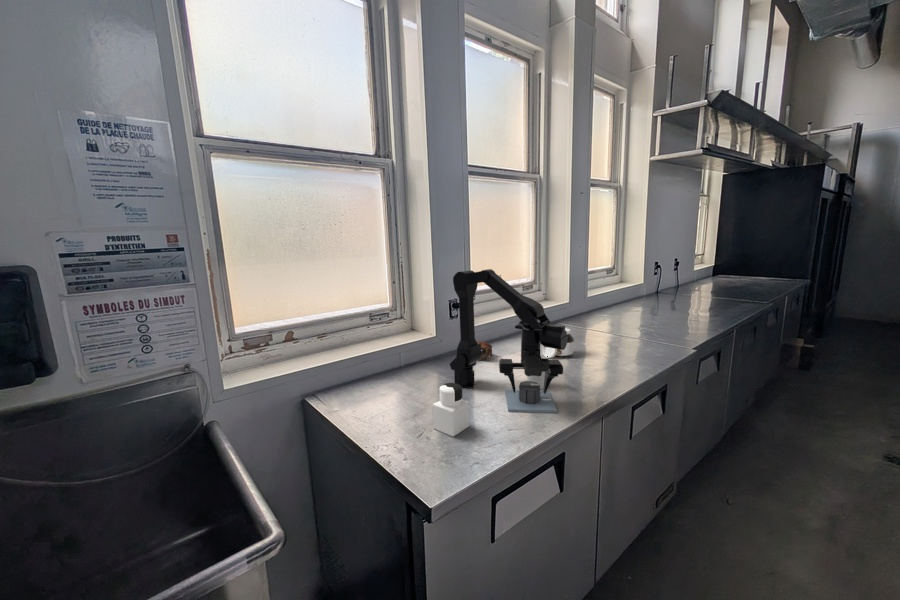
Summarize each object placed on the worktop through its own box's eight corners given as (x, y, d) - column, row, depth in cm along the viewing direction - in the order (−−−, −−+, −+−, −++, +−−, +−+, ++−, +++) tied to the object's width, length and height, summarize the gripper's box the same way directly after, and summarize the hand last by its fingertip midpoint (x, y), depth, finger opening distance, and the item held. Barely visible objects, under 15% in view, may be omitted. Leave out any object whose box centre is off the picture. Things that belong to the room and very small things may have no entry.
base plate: (508, 411, 108) (508, 399, 107) (505, 392, 121) (505, 380, 121) (557, 413, 106) (557, 400, 106) (548, 393, 120) (548, 381, 119)
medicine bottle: (449, 418, 104) (449, 378, 102) (469, 426, 99) (469, 384, 98) (432, 428, 99) (431, 386, 97) (453, 437, 94) (452, 393, 92)
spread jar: (575, 355, 159) (576, 328, 157) (568, 362, 150) (569, 334, 148) (547, 350, 165) (548, 325, 164) (539, 357, 156) (540, 331, 154)
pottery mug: (464, 358, 158) (470, 340, 160) (482, 365, 162) (487, 347, 164) (478, 359, 147) (484, 339, 150) (497, 366, 151) (502, 347, 153)
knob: (520, 403, 111) (520, 387, 110) (518, 395, 117) (518, 379, 116) (541, 404, 110) (541, 388, 110) (537, 395, 116) (538, 380, 116)
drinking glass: (546, 390, 122) (547, 361, 121) (526, 389, 124) (526, 360, 122) (545, 382, 129) (546, 355, 127) (526, 381, 130) (526, 354, 129)
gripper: (501, 351, 104) (500, 403, 106) (568, 352, 102) (566, 405, 105) (499, 340, 115) (498, 388, 117) (560, 341, 113) (558, 389, 116)
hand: (529, 392), depth 113 cm, fingers open, 9 cm apart
